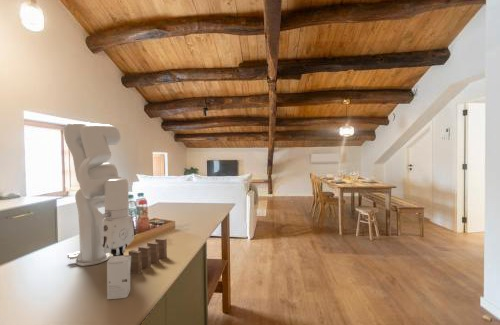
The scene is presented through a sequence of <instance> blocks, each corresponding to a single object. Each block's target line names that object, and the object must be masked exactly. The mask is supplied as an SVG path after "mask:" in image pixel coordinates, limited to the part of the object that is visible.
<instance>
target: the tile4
mask: <svg viewBox="0 0 500 325" xmlns="http://www.w3.org/2000/svg"><path fill="white" fill-rule="evenodd" d="M167 241H168V240H167V238H161V237H160V238H159V237H157V238H155V241H154V242H156V243H159V259H164V258H165V259H166V258H168V254H167V252H168V248H167V247H168V246H167Z"/></svg>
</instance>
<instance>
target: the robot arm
mask: <svg viewBox="0 0 500 325" xmlns="http://www.w3.org/2000/svg"><path fill="white" fill-rule="evenodd" d="M63 135H64V141H65V144H66V146H67V148H68V150H69V152H70V153H71V157H72V160H73V166H74V173H75V177H76V181H77V183H78V184H79V189H78V190H76V192H75V196H74V198H75V204H76V208H77V213H78V214H77V215H78V231H79V233H78V235H79V237H78V238H79V250H78V251H76V252H70V253H67V255H66V256H67V259H69V260H74V259H75V264H76V265H77V266H80V267H81V266H83V267H85V266H86V267H88V266H92V265H93V266H94V265H98V264H101V263H104V262H106V261H108V260H109V259H110V257H111V255H112V256H124V255H125V254H124V253H126V248H127V247H128V246H130V245H131V243H132V242H133V241H134V239H135V232H134V231H135V230H134V225H133V219H132V215H131V214H130V206H129V205H130V204H129V203H130V200H129V198H130V196H129V181H128V180H127V178H124V177H123V178H122V176H119V173H118V172H119V171H118V169H117V167H116V165H115V164H113V163H112V162H108V161H109V160H110V159H111V157H112V152H111V150H110V146H116V145H119V143H120V142H121V137H122V136H121V132H120V130H119V129H118V127H117V126H114V125H110V124H106V123H104V124H103V123H92V122H80V121H78V122H69V123H67V124H66V125H65V126H64V129H63ZM100 208H104V213H102V212H101V211H100V210H99V209H100Z"/></svg>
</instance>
